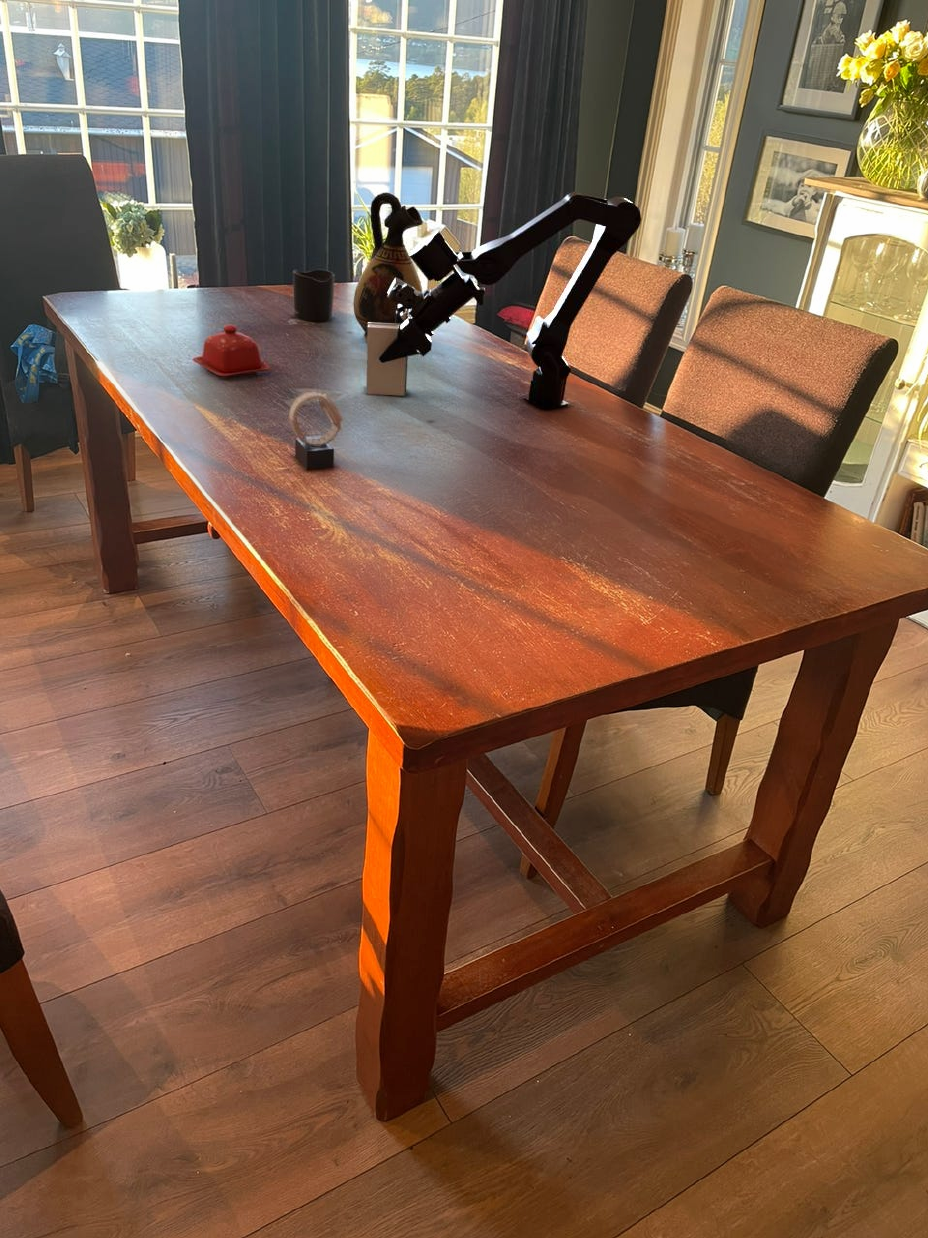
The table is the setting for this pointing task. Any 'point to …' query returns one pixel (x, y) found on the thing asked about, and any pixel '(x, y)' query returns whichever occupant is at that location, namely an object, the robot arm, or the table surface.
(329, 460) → the ring sculpture
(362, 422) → the table surface
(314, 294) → the pen holder
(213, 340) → the butter dish
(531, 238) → the robot arm
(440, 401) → the table surface
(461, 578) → the table surface
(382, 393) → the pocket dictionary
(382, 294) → the ceramic jug
